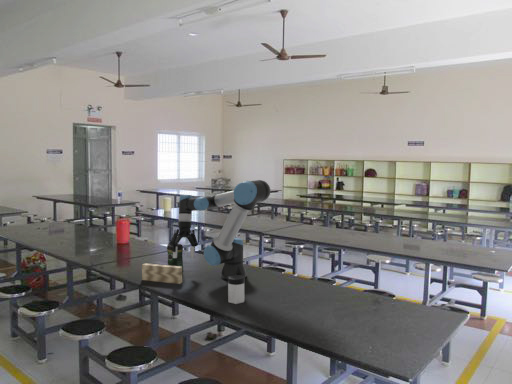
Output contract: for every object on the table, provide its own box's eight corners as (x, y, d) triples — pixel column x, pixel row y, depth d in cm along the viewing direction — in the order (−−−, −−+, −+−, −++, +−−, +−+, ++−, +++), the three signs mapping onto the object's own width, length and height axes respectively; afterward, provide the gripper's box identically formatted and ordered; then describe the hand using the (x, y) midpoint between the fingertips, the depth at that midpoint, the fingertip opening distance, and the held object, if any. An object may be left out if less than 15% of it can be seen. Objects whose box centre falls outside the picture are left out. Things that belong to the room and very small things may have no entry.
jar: (224, 301, 201) (224, 277, 200) (233, 296, 208) (233, 273, 207) (239, 305, 196) (239, 280, 195) (248, 299, 203) (248, 276, 202)
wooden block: (182, 282, 231) (182, 266, 230) (179, 283, 228) (179, 268, 227) (145, 278, 238) (144, 263, 237) (142, 279, 235) (141, 264, 234)
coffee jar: (185, 273, 248) (185, 243, 246) (174, 276, 242) (174, 245, 240) (176, 270, 255) (175, 240, 253) (165, 273, 249) (164, 243, 247)
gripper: (195, 222, 253) (194, 257, 250) (164, 220, 233) (162, 258, 230) (204, 222, 248) (203, 257, 246) (173, 219, 229) (171, 258, 226)
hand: (183, 257), depth 238 cm, fingers open, 13 cm apart
